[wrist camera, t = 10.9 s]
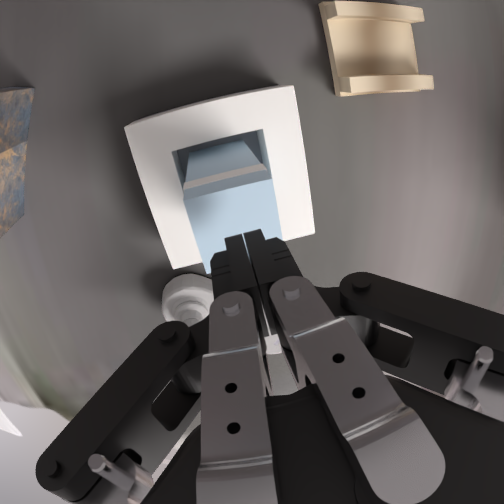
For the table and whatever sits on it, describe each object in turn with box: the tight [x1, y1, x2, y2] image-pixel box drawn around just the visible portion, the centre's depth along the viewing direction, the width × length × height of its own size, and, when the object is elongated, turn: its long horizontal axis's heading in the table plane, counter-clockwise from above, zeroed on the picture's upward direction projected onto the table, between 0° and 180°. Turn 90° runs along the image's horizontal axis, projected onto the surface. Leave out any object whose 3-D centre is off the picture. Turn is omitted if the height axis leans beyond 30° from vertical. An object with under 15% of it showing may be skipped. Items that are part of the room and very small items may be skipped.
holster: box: [318, 1, 434, 96], centre depth 19 cm, size 8×8×3 cm
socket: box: [124, 85, 315, 269], centre depth 22 cm, size 11×11×4 cm
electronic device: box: [162, 274, 282, 354], centre depth 28 cm, size 5×10×15 cm
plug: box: [183, 140, 283, 274], centre depth 19 cm, size 4×4×10 cm
